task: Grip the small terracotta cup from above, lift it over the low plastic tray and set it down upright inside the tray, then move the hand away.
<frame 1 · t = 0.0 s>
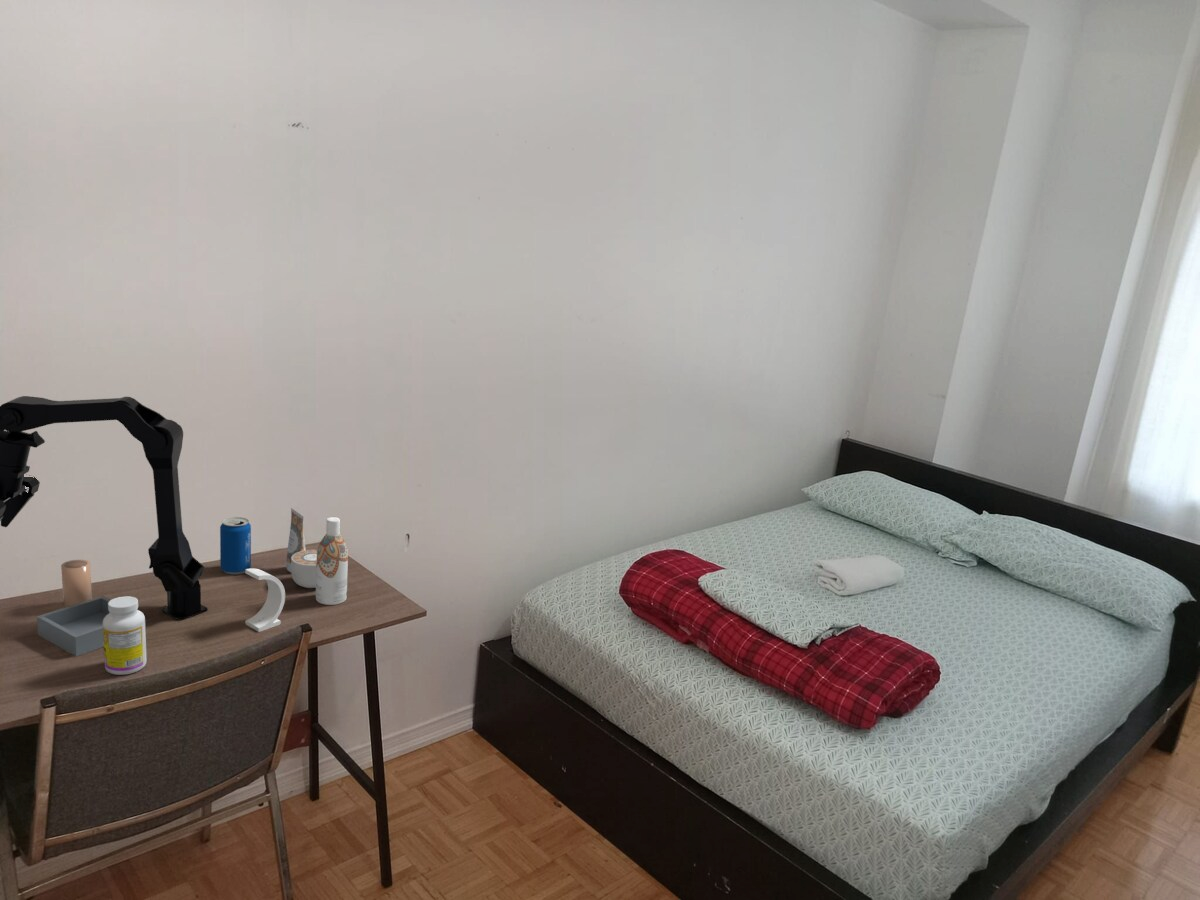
tray: (90, 633, 168), on the table
supplement bottle: (125, 668, 158), on the table
beverage can: (235, 571, 202), on the table
headphone stand: (265, 624, 179), on the table
cup: (78, 605, 178), on the table
cosmetic set: (313, 585, 199), on the table
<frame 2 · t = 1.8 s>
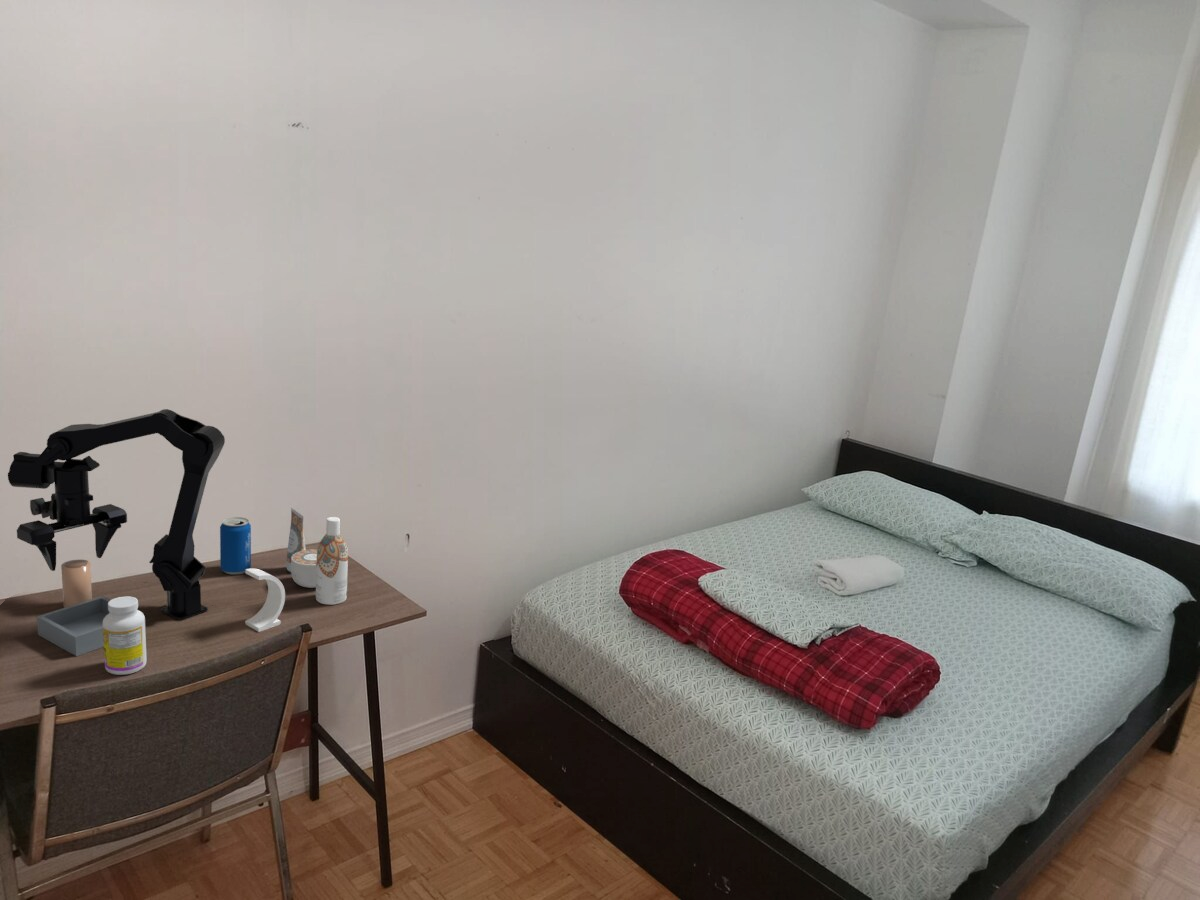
hand: (76, 563, 176), 9 cm above the table, tool pointing down, fingers open, 9 cm apart
nothing on the table moved.
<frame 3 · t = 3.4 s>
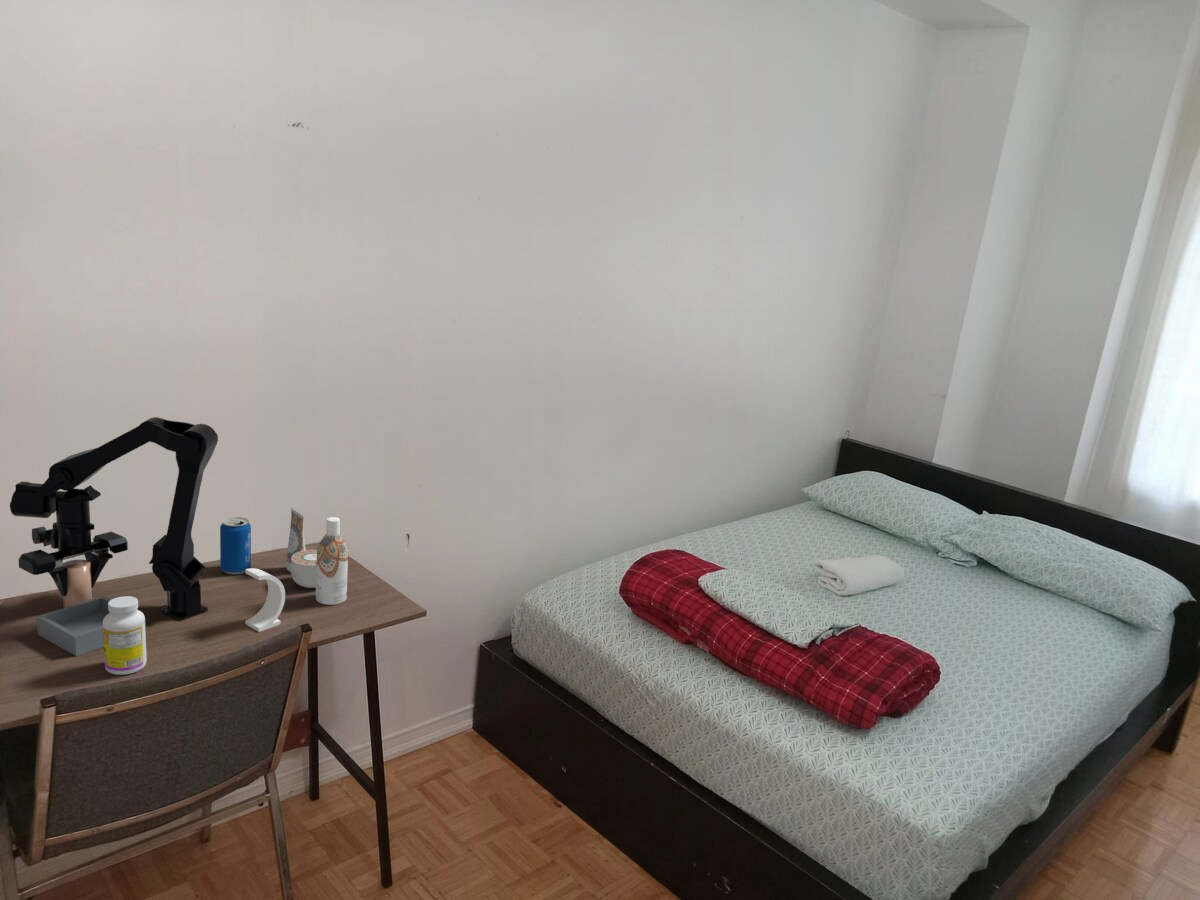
hand: (77, 591, 177), 3 cm above the table, tool pointing down, fingers closed on cup, 5 cm apart
cup: (78, 605, 178), on the table, touching gripper
everything else where it was.
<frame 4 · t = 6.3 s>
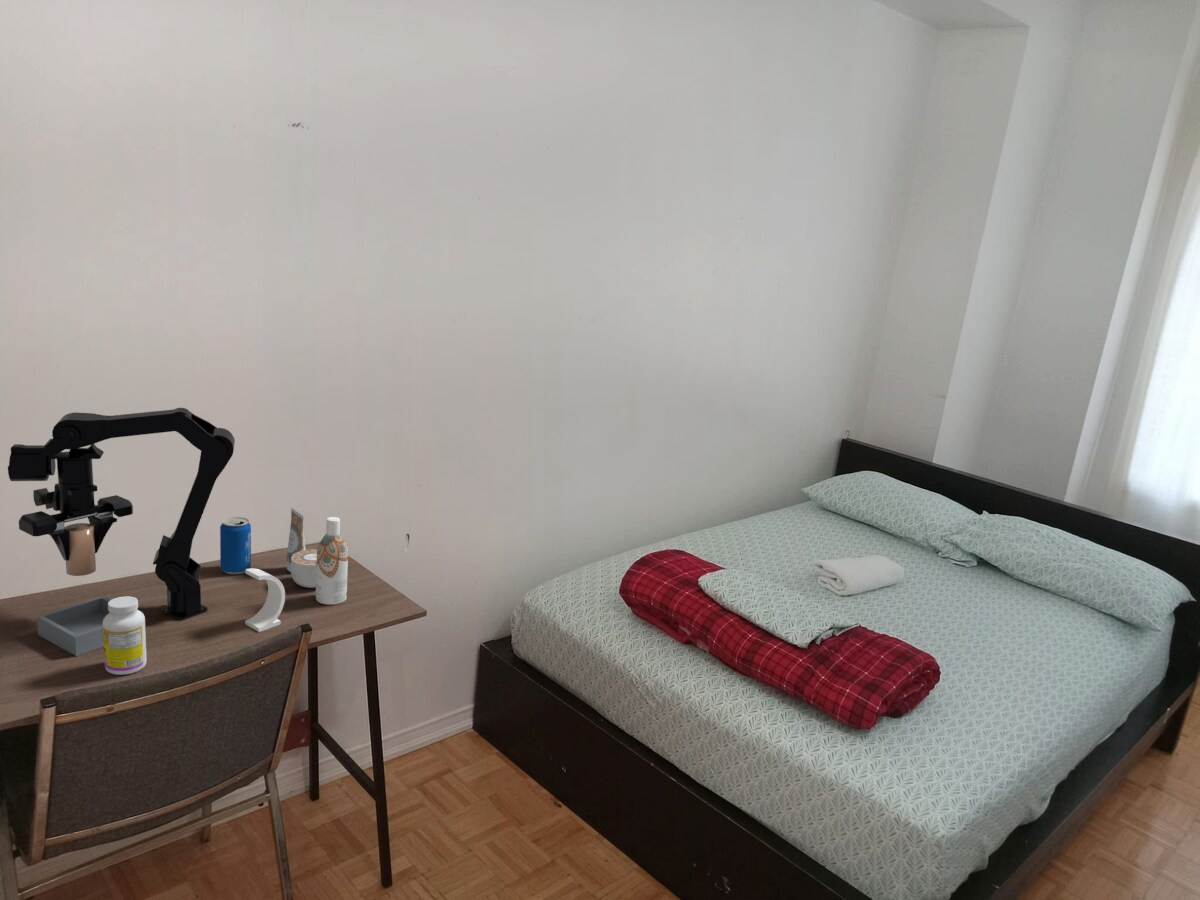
hand: (80, 556, 170), 13 cm above the table, tool pointing down, fingers closed on cup, 5 cm apart
cup: (81, 570, 171), point 10 cm above the table, touching gripper
everything else where it was.
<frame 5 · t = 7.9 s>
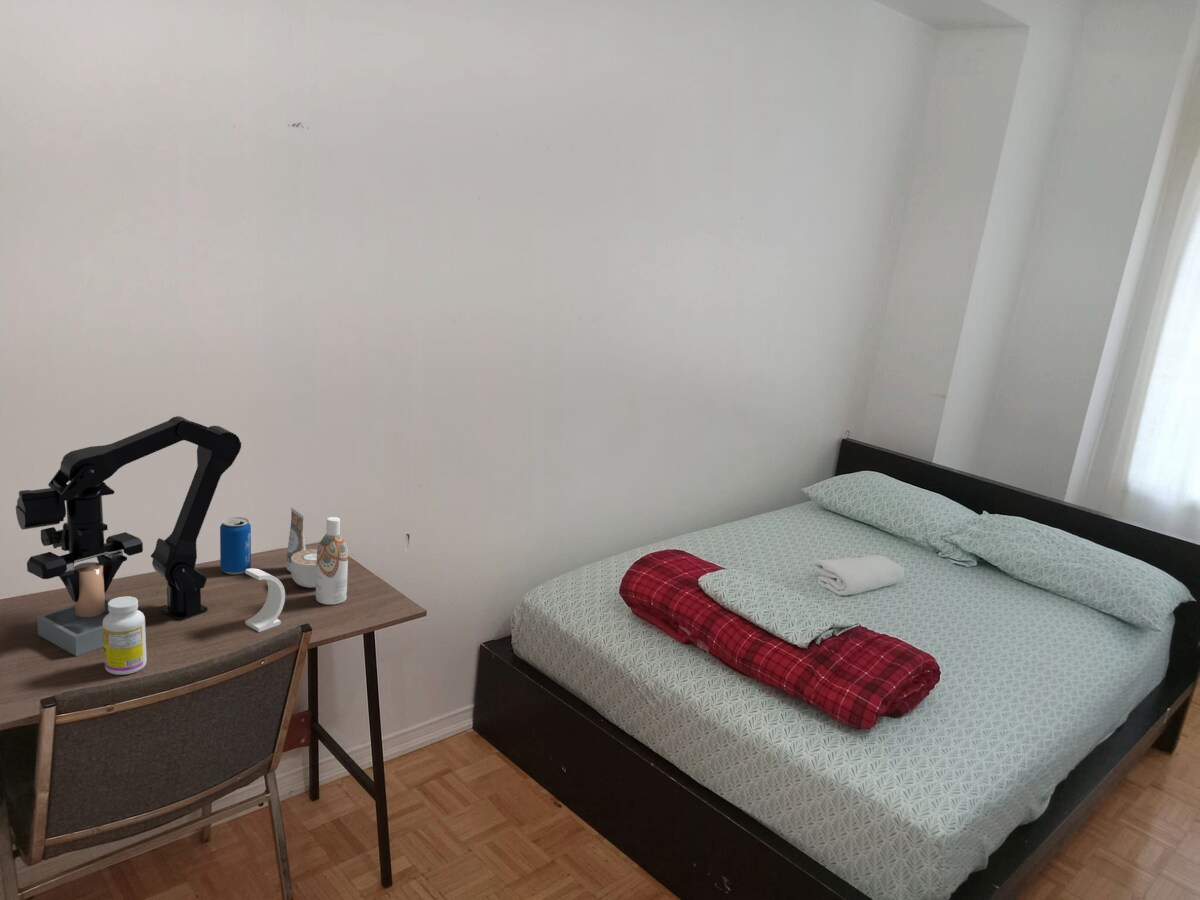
hand: (89, 596, 166), 8 cm above the table, tool pointing down, fingers closed on cup, 5 cm apart
cup: (90, 611, 167), point 5 cm above the table, touching gripper
everything else where it was.
when the fingers open (5 cm above the table, at t = 9.2 s): cup stays where it is, resting on tray.
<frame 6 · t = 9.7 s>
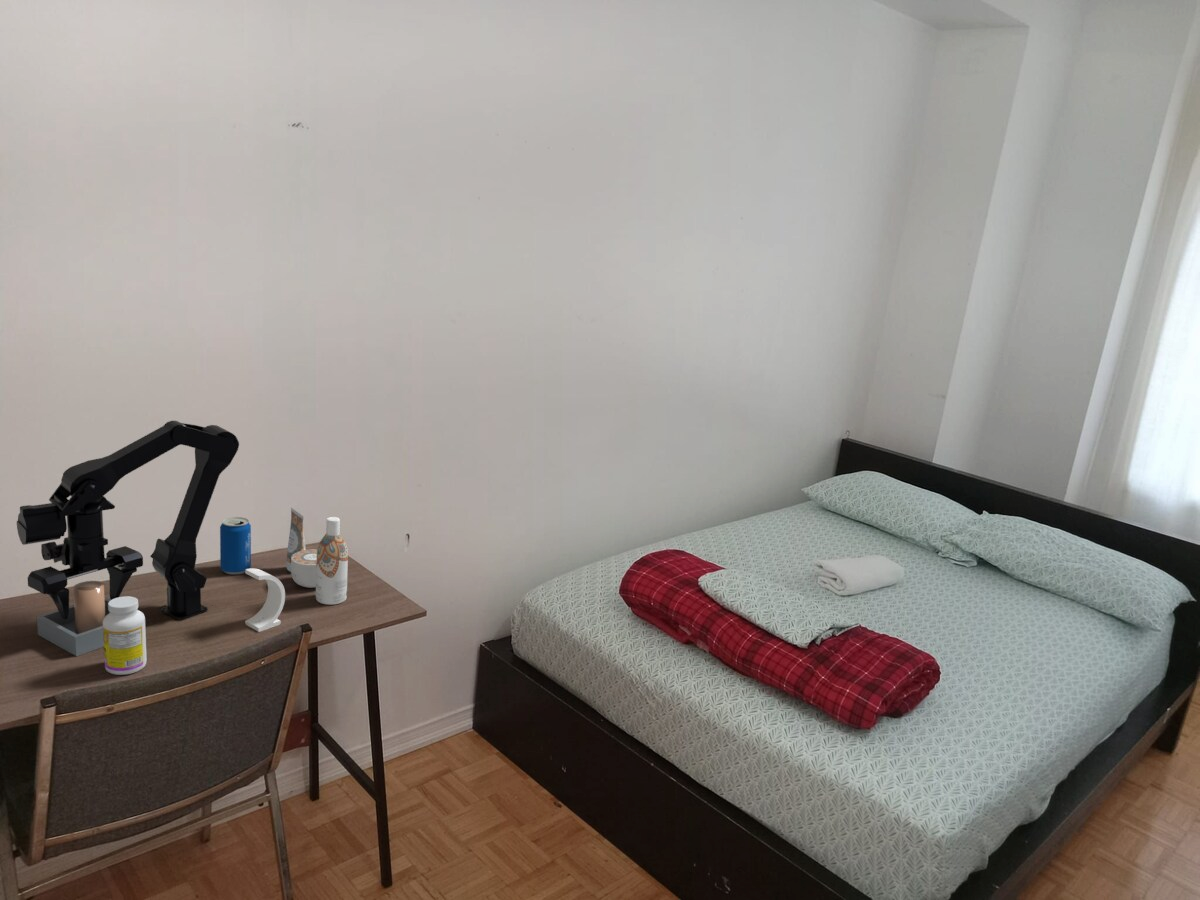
hand: (89, 610, 166), 5 cm above the table, tool pointing down, fingers open, 9 cm apart
cup: (90, 629, 167), point 1 cm above the table, touching tray
everything else where it was.
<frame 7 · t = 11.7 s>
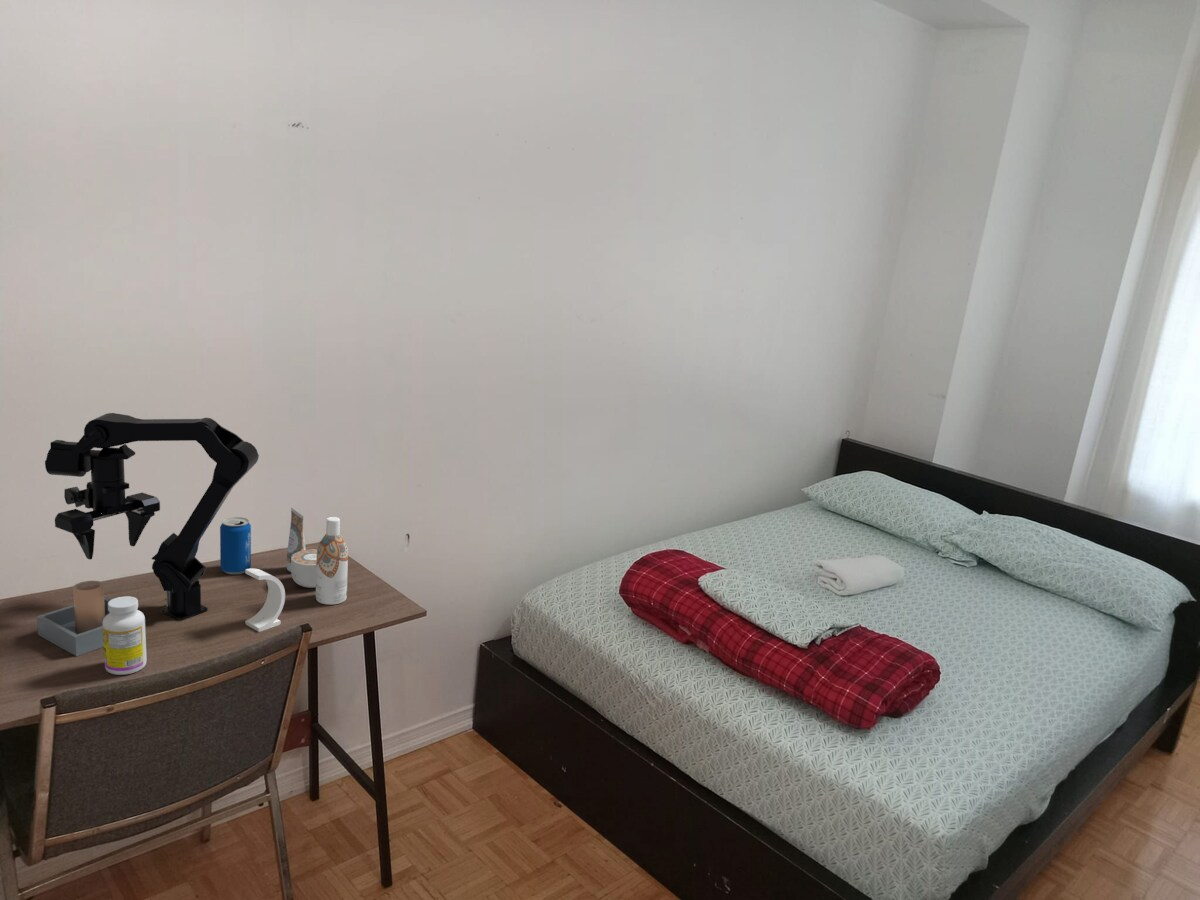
hand: (111, 552, 176), 12 cm above the table, tool pointing down, fingers open, 9 cm apart
nothing on the table moved.
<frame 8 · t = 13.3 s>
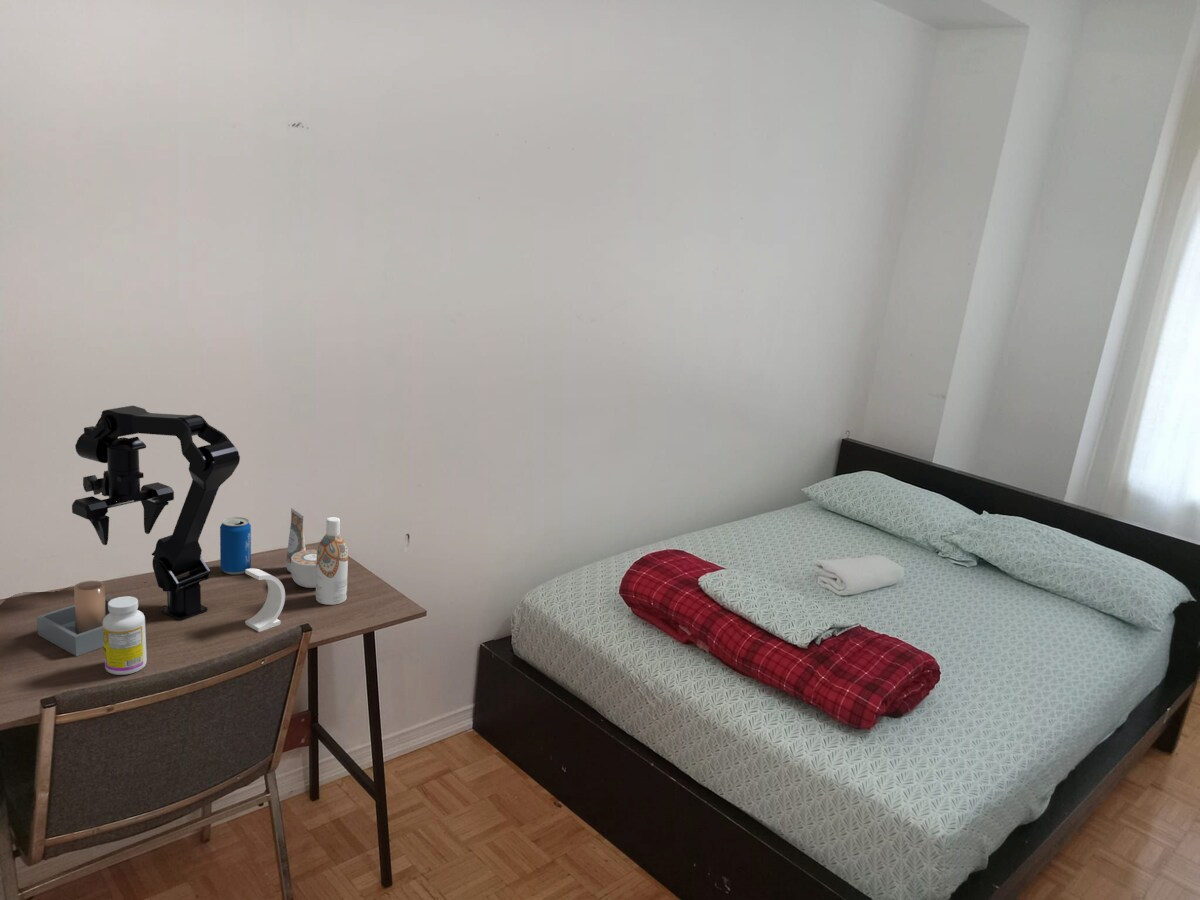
hand: (126, 538, 183), 12 cm above the table, tool pointing down, fingers open, 9 cm apart
nothing on the table moved.
at the end: cup 0.1 cm off-centre on the tray, point 0.8 cm above the tray's base; cup tilted 1°; the gripper is holding nothing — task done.
